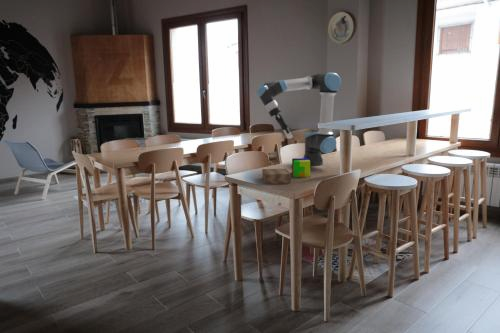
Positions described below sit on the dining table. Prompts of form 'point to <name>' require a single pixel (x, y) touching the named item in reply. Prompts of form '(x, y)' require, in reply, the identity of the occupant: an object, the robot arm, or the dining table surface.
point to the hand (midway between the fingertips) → (290, 137)
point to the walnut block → (276, 176)
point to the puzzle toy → (301, 167)
